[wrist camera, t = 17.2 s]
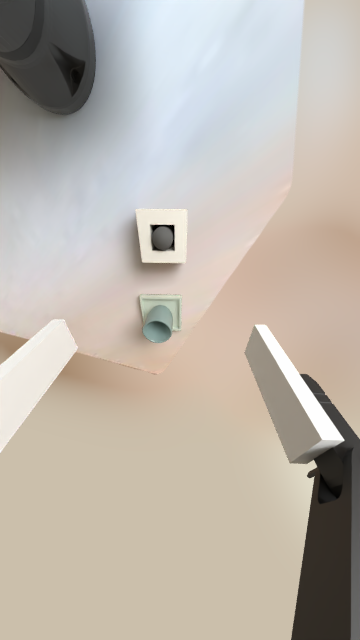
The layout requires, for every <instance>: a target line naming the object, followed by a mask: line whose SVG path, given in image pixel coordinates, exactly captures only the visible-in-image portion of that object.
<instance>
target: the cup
mask: <svg viewBox="0 0 360 640" xmlns="http://www.w3.org/2000/svg"><path fill="white" fill-rule="evenodd" d="M172 330H173V315H172V312H171V311H170V309H169V308H168V307H166V306H164V305H157V306H155V307H153V308H152V309H151V310H150V311H149V313H148V315H147V317H146V319H145V322H144V325H143V329H142V331H143V334H144V336H145V337H146V338H147V339H148V340H150V341H151V342H154V343H162V342H165V341H167V340H168V339H169V338H170V337H171V335H172Z"/></svg>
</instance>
